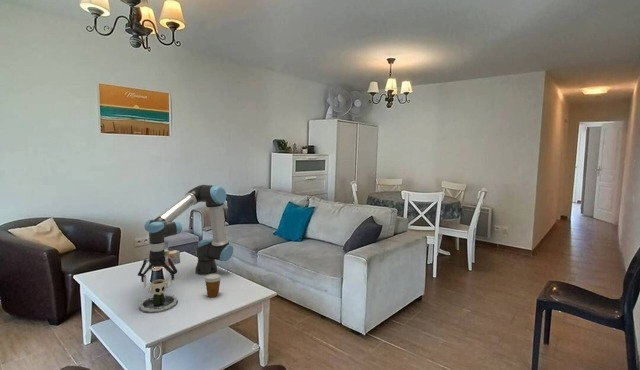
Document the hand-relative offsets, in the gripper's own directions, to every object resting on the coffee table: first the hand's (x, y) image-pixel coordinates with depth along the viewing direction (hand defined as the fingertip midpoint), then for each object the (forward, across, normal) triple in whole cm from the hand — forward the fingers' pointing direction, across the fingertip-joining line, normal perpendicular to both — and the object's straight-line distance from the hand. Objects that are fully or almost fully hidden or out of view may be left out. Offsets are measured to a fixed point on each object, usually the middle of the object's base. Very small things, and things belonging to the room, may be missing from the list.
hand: (158, 286), depth 191 cm
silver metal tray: (+11, 0, 0) cm, 11 cm away
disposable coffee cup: (+11, -29, -7) cm, 32 cm away
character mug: (+10, 0, 0) cm, 10 cm away
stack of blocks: (+11, +9, -68) cm, 69 cm away
